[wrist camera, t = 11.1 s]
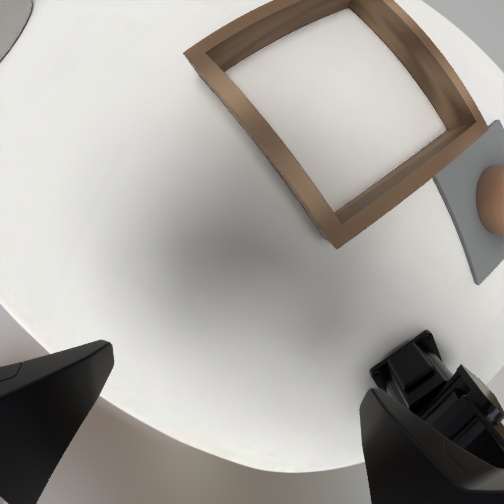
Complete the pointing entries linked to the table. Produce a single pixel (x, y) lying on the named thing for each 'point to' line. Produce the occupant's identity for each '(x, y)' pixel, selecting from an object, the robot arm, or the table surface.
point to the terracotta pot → (491, 199)
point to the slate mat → (474, 200)
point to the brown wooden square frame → (406, 50)
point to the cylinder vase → (12, 22)
